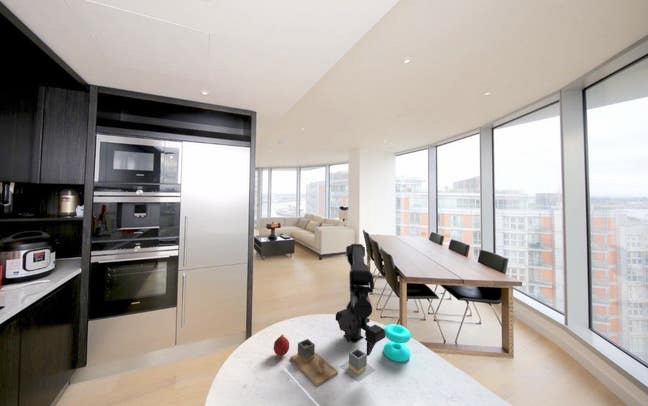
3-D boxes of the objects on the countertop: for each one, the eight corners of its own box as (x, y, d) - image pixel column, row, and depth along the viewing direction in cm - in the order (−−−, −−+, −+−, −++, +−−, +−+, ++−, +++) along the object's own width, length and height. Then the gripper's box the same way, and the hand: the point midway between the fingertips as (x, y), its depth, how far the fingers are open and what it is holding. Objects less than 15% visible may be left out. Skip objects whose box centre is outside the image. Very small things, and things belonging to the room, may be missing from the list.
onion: (285, 362, 83) (286, 340, 83) (270, 360, 84) (271, 338, 84) (291, 352, 89) (291, 331, 89) (277, 350, 90) (277, 329, 90)
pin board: (310, 351, 90) (310, 335, 90) (338, 375, 78) (338, 356, 78) (290, 360, 84) (290, 343, 84) (317, 388, 72) (317, 368, 72)
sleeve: (357, 361, 84) (357, 348, 84) (366, 368, 81) (366, 354, 81) (348, 367, 81) (349, 352, 81) (357, 374, 78) (358, 359, 78)
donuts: (399, 321, 96) (416, 334, 86) (399, 345, 96) (415, 361, 86) (379, 324, 93) (394, 338, 83) (378, 349, 93) (393, 366, 83)
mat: (356, 357, 87) (356, 356, 87) (375, 370, 80) (375, 369, 80) (339, 367, 82) (339, 366, 82) (358, 382, 75) (358, 381, 75)
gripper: (325, 300, 83) (323, 343, 83) (365, 322, 69) (363, 374, 69) (346, 293, 90) (345, 333, 90) (387, 311, 76) (385, 359, 76)
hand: (358, 348), depth 81 cm, fingers open, 9 cm apart
